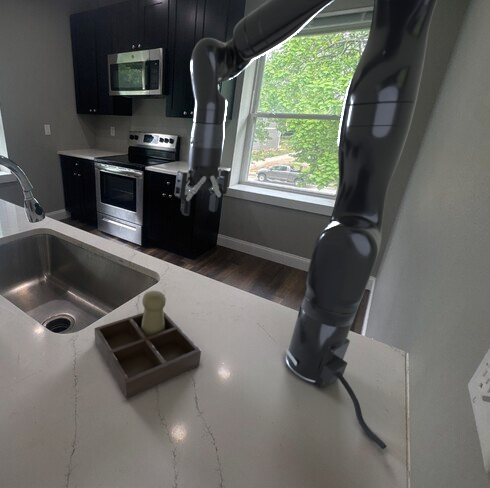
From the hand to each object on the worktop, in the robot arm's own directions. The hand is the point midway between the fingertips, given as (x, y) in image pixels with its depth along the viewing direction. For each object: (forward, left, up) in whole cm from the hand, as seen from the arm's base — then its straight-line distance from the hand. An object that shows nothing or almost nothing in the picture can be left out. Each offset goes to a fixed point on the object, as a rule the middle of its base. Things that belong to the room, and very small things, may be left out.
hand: (199, 212), depth 74 cm
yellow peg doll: (-8, +17, -26) cm, 32 cm away
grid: (-12, +21, -26) cm, 35 cm away
